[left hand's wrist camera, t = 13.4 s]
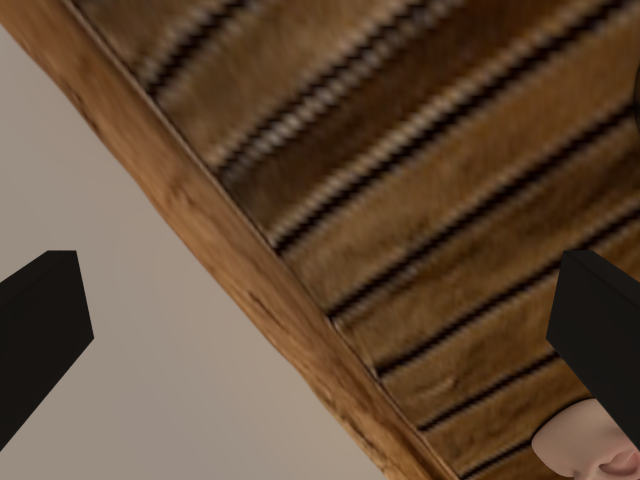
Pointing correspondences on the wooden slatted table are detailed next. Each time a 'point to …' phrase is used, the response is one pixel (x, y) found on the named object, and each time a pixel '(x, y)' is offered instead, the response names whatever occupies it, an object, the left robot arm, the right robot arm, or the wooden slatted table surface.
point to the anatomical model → (587, 445)
